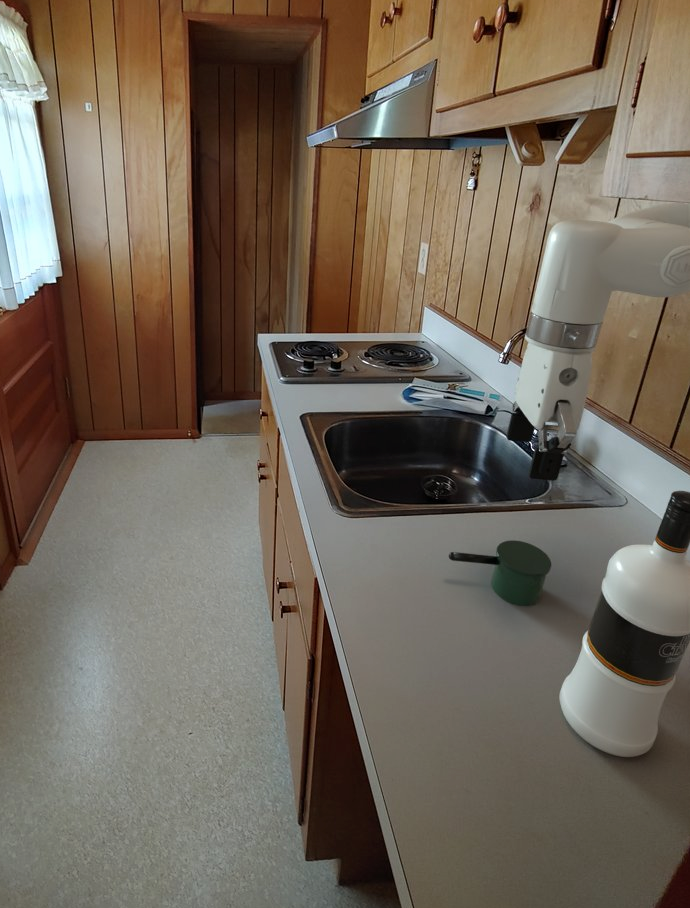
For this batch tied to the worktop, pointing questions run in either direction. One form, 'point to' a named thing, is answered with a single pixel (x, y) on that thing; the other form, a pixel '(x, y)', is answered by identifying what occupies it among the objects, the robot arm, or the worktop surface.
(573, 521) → the worktop surface
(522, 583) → the pot
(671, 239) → the robot arm
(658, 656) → the vodka
